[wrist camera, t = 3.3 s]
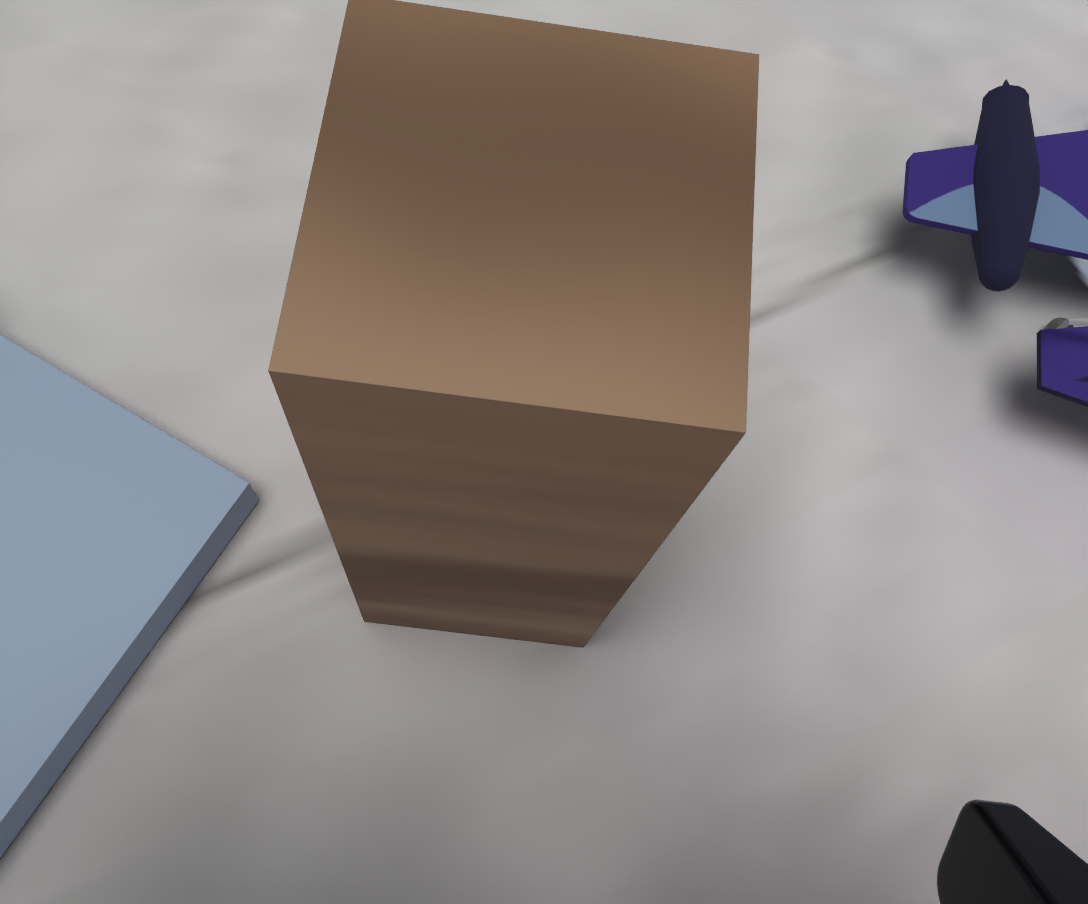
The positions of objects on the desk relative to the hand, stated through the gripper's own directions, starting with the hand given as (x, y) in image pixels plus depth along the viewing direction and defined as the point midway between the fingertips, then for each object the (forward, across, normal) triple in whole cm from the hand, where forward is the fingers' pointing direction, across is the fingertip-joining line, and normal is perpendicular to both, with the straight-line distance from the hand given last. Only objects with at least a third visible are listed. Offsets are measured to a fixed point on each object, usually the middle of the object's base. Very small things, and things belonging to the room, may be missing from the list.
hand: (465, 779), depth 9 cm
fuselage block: (+12, 0, +4) cm, 13 cm away
